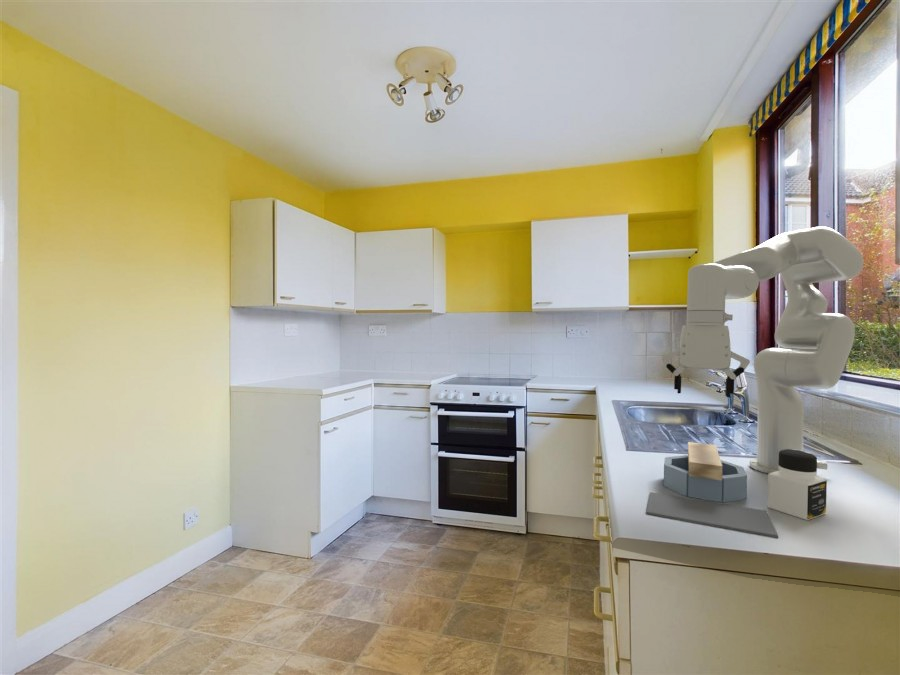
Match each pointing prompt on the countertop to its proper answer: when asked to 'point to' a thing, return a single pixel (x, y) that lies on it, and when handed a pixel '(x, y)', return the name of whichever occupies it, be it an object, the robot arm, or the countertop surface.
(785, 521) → the countertop surface
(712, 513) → the rubber mat
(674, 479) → the ceramic bowl
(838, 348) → the robot arm
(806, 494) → the medicine bottle
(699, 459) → the oak board
